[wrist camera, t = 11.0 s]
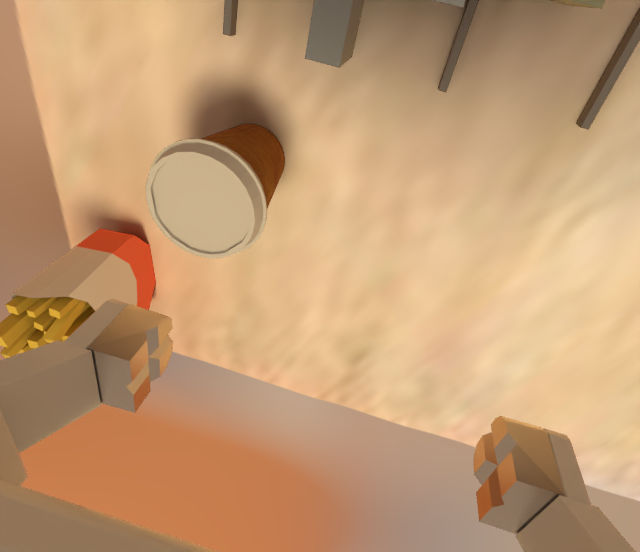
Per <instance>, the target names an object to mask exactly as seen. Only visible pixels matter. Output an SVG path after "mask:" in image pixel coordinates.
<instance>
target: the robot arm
mask: <svg viewBox="0 0 640 552" xmlns="http://www.w3.org/2000/svg"><path fill="white" fill-rule="evenodd" d="M171 329H172V318H170V317H168V316H165V315H162V314H159V313H156V312H153V311H150V310H147V309H144V308H141V307H138V306H135V305H132V304H128V303H125V302H122V301H119V300H116V299H110V300H108V301H106V302H105V303H104V304H102V305H101V306H100V307H99V308H98V309H97V310H96V311H95V312H94V313H93V314H92V315H91V316H90V317H89V318H88V319H87V320H86V321H85V322H84V323H83V324H82V325H81V326H80V327H79V328H77V329H76V330H75V331H74V332H73V333H72V334H71V335H70V336H69V337H68V338H67V339H66V340H65V341H64V342H62V341H58V340H57V341H54V342H51V343H48V344H46V345H43V346H40V347H37V348H34V349H31V350H29V351H26V352H23V353H20V354H17V355H15V356H12V357H9V358H6V359H3V360H0V552H219V551H215V550H213V549H210V548H207V547H204V546H201V545H198V544H195V543H191V542H189V541H186V540H183V539H180V538H177V537H173V536H170V535H167V534H164V533H161V532H158V531H155V530H152V529H149V528H146V527H143V526H140V525H137V524H134V523H131V522H128V521H125V520H122V519H119V518H116V517H113V516H110V515H107V514H104V513H101V512H98V511H95V510H92V509H89V508H86V507H83V506H80V505H77V504H74V503H71V502H68V501H65V500H62V499H59V498H56V497H53V496H50V495H46V494H44V493H41V492H38V491H35V490H32V489H28V488H26V487H22V486H21V484H22V483H23V482H24V481H25V479H26V478H27V470H26V467H25V465H24V463H23V460H22V458H21V455H20V452H22V451H24V450H25V449H27V448H29V447H30V446H32V445H34V444H35V443H37V442H39V441H41V440H42V439H44V438H46V437H47V436H49V435H51V434H53V433H54V432H56V431H58V430H59V429H61V428H63V427H65V426H66V425H68V424H70V423H71V422H73V421H75V420H76V419H78V418H80V417H82V416H83V415H85V414H87V413H88V412H90V411H92V410H93V409H95V408H97V407H98V406H100V405H101V403H103V404H106V405H110V406H113V407H117V408H121V409H124V410H127V411H131V412H134V413H135V412H136V411H137V409H138V408H139V406H140V405H141V404H142V402H143V401H144V399H145V398H146V396H147V395H148V394H149V392H150V381H152V380H155V379H156V378H159V377H160V376H161V375H162V373H163V372H164V370H165V369H166V367H167V365H168V362H169V360H170V358H171V353H172V349H173V341H172V340H171V338H170V337H169V335H168V334H169V332H170V331H171ZM491 429H492V432H491V433H489V434H486V435H483V436H482V437H481V439H480V440H479V442H478V444H477V446H476V450H475V454H474V474H475V476H476V477H477V479H478V480H479V482H480V483H481V485H482V486H481V487H480V488H479V490H478V491H477V492H476V496H477V504H478V514H479V521H480V522H483V523H486V524H488V525H491V526H494V527H497V528H500V529H503V530H506V531H509V532H512V533H514V534H517V535H516V538H517V540H518V541H519V543H520V545H521V547H522V549H523V550H524V552H636V551H635V550H634V549H633V548H632V547H631V546H630V544H629V543H628V542H627V541H626V540H625V538H624V537H623V536H622V535H621V534H620V532H619V531H618V530H617V529H616V528H615V527H614V525H613V524H612V523H611V522H610V521H609V520H608V518H607V517H606V516H605V515H604V514H603V512H602V511H601V510H600V509H599V508H598V507H596V506H593V505H591V502H590V499H589V496H588V493H587V490H586V487H585V484H584V481H583V478H582V475H581V472H580V469H579V466H578V463H577V459H576V456H575V453H574V450H573V447H572V444H571V441H570V439H569V438H568V437H567V436H566V435H564V434H561V433H557V432H554V431H551V430H547V429H542V428H541V427H537V426H534V425H531V424H527V423H524V422H520V421H517V420H513V419H510V418H506V417H503V416H499V417H497V418H496V419H495V420H494V421H493V423H492V424H491Z"/></svg>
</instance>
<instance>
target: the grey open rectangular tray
mask: <svg viewBox="0 0 640 552" xmlns="http://www.w3.org/2000/svg"><path fill="white" fill-rule="evenodd" d="M434 1H438V2H442V3H446V4H450V5H454V6H458V7H462V8H463V6H464V3H465V1H466V0H434ZM363 3H364V0H314V5H313V11H312V18H311V24H310V30H309V36H308V43H307V49H306V55H305V59H308V60H312V61H316V62H320V63H324V64H327V65H331V66H335V67H340V66H342V65H343V64H344V63H345V62H346V61H347V60H348V59H350V58H351V57H352V53H353V48H354V44H355V39H356V35H357V30H358V26H359V21H360V17H361V12H362V7H363Z"/></svg>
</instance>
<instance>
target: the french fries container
mask: <svg viewBox="0 0 640 552" xmlns="http://www.w3.org/2000/svg"><path fill="white" fill-rule="evenodd" d="M155 284H156V280H155V274H154V268H153V262H152V256H151V250H150V245H148V244H147V243H145V242H144V241H142V240H141V239H139V238H138V237H136V236H135V235H130V234H125V233H120V232H115V231H110V230H105V229H99V230H97V231H96V232H95V233H93V234H92V235H91V236H89V237H88V238H86V239H85V240H84V241H82V242H81V243H80V244H78V245H77V246H75V247H74V248H73V249H71V250H70V251H69V252H67V253H66V254H64V255H63V256H62V257H60V258H59V259H58V260H56V261H55V262H53V263H52V264H51V265H49V266H48V267H47V268H45V269H44V270H42V271H41V272H40V273H38V274H37V275H35V276H34V277H33V278H31V279H30V280H29V281H27V282H26V283H24V284H23V285H22V286H20V287H19V288H18V289H16V290H15V291H13V292H12V293H11V296H12V298H13V300H11V301H10V302H8V303H7V304H6V306H7V308H8V311H9V312H10V313H12V314H11V315H9V316H8V317H7V318H6V319H5V320H3V321H2V322H1V323H0V346H3V347H5V348H4V349H3V350H2V351H1V352H0V353H1V354H2V355H3V356H4V357H5V358H9V357H12V356H15V355H16V354H17V353H18V352H19V353H23V352H26V351H29V350H31V349H34V348H37V347H40V346H43V345H46V344H48V343H51V342H54V341H57V340H58V341H62V342H64V341H65V340H66V339H67V338H68V337H69V336H70V335H71V334H72V333H73V332H74V331H75V330H76V329H77V328H79V327H80V326H81V325H82V324H83V323H84V322H85V321H86V320H87V319H88V318H89V317H90V316H91V315H92V314H93V313H94V312H95V311H96V310H97V309H98V308H99V307H100V306H101V305H102V304H104V303H105V302H106V301H108V300H110V299H116V300H119V301H122V302H125V303H128V304H132V305H135V306H138V307H141V308H144V309H147V310H149V307H150V303H151V299H152V295H153V291H154V288H155Z"/></svg>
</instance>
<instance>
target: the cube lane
mask: <svg viewBox="0 0 640 552" xmlns="http://www.w3.org/2000/svg"><path fill="white" fill-rule="evenodd" d="M552 1H556V2H560V3H564V4H568V5H572V6H582V7H591V8H602V6H603V4H604V2H605V0H552Z"/></svg>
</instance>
